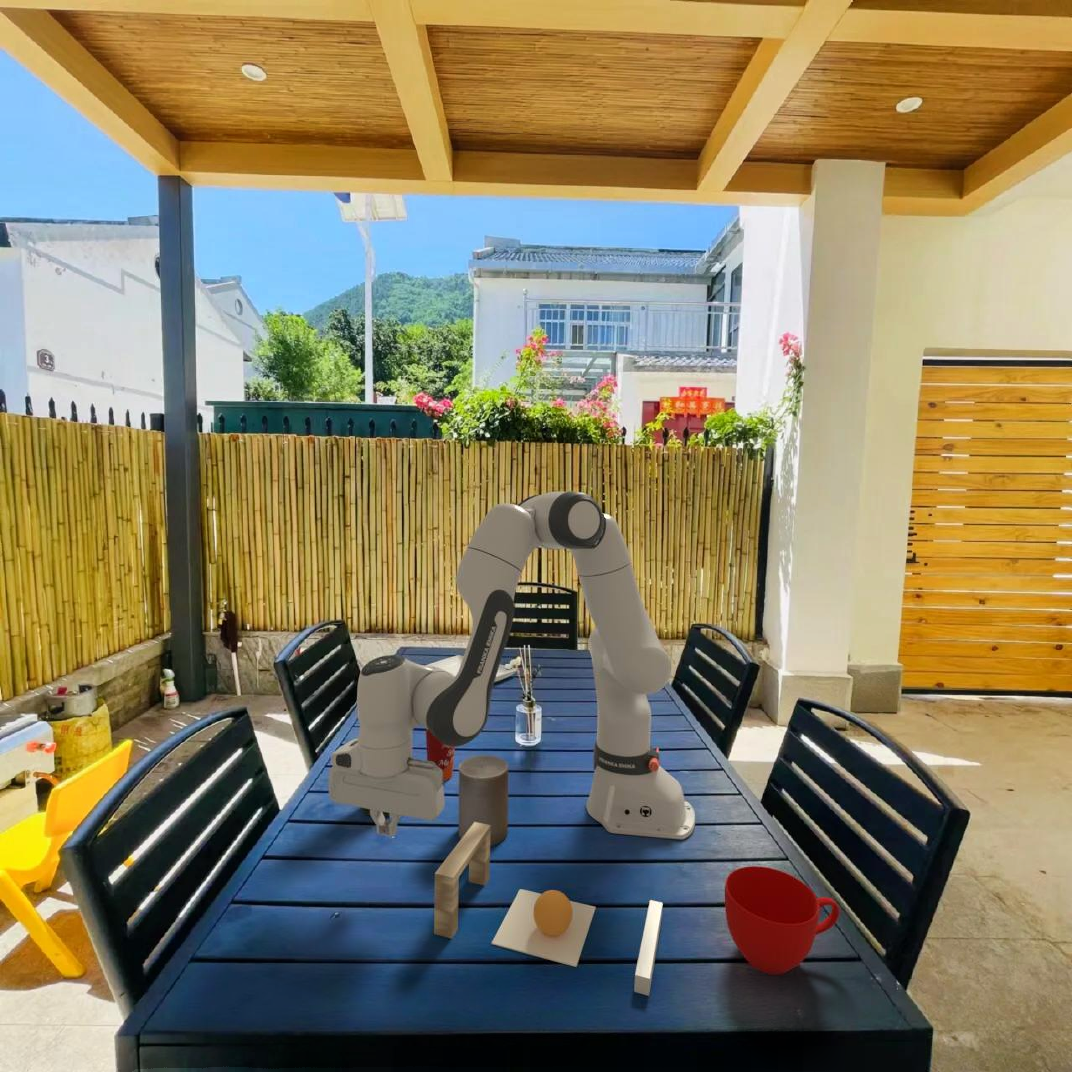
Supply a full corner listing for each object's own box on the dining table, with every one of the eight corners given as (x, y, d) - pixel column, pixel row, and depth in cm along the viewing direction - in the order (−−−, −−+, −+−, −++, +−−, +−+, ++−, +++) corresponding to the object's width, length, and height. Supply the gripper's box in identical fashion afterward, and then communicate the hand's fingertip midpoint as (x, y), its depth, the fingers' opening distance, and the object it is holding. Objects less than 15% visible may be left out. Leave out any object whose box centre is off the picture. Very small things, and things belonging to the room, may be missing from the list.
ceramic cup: (860, 990, 86) (866, 922, 85) (742, 995, 85) (746, 926, 84) (811, 923, 99) (816, 864, 98) (708, 926, 97) (712, 866, 96)
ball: (574, 883, 97) (538, 880, 99) (563, 906, 91) (526, 902, 93) (578, 921, 97) (542, 917, 99) (568, 947, 91) (530, 942, 93)
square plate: (469, 699, 195) (469, 687, 195) (406, 682, 210) (406, 670, 209) (518, 677, 218) (518, 667, 217) (458, 663, 232) (458, 653, 232)
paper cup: (450, 786, 139) (451, 725, 138) (418, 781, 141) (419, 722, 139) (461, 770, 147) (462, 713, 146) (430, 766, 148) (431, 709, 147)
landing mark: (595, 908, 101) (595, 906, 101) (576, 967, 88) (576, 965, 88) (520, 889, 105) (520, 888, 105) (491, 944, 92) (491, 942, 92)
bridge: (489, 878, 107) (490, 825, 107) (452, 938, 93) (453, 877, 92) (473, 874, 108) (474, 821, 107) (433, 933, 94) (435, 873, 93)
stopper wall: (661, 917, 99) (662, 902, 99) (649, 995, 84) (649, 978, 84) (649, 914, 100) (650, 899, 99) (634, 991, 84) (635, 974, 84)
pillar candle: (504, 817, 127) (505, 747, 126) (510, 845, 117) (511, 769, 116) (456, 821, 125) (457, 749, 124) (459, 849, 116) (459, 772, 114)
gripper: (450, 755, 103) (451, 833, 104) (344, 738, 109) (346, 813, 110) (433, 772, 97) (434, 855, 98) (322, 754, 103) (324, 833, 104)
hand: (387, 833), depth 104 cm, fingers closed
